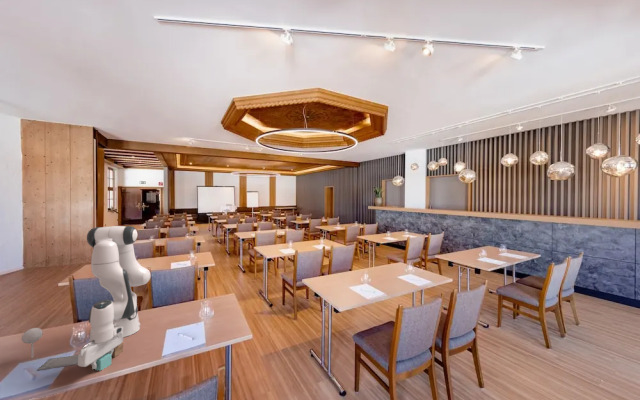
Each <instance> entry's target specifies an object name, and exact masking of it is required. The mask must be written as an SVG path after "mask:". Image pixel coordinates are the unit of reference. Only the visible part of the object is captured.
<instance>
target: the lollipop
mask: <svg viewBox="0 0 640 400" xmlns="http://www.w3.org/2000/svg"><path fill="white" fill-rule="evenodd" d="M43 334H44V333H43V329H41V328H39V327H33V328H29V329H28V330H26V331H25V332H23V334H22V336H21V341H22V343H24V344H27V345H28V344H31V350H30V354H31V356H30V357H31V359H33V358H34V343H36V342H38V341H39V340H40V339H41V338H42V336H43Z"/></svg>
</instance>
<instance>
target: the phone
mask: <svg viewBox="0 0 640 400" xmlns="http://www.w3.org/2000/svg"><path fill="white" fill-rule="evenodd" d="M78 358H79V354H75V355H68V356H62V357H61V356H60V357H53V358H49V359H47V360H46V361H45V362H44V363H42V364H41V365H39V367H37V371H44V370H45V371H46V370H51V369H58V368H64V367H70V366H78Z"/></svg>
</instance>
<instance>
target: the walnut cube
mask: <svg viewBox="0 0 640 400" xmlns="http://www.w3.org/2000/svg"><path fill="white" fill-rule="evenodd" d="M123 352H124V342H122V343H121V344H120V345H118V346H117V347H115V348H114V351H113V353H112V356H111V359H112V358H117V357H118V356H119V355H120V354H122V353H123ZM107 354H108V353H107Z"/></svg>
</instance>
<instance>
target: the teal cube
mask: <svg viewBox="0 0 640 400" xmlns="http://www.w3.org/2000/svg"><path fill="white" fill-rule="evenodd" d="M111 356H112V354H107V353H106V354H104V355H103V356H101V357H100V358H98V359H97V361H96V362H95V363H98V364H99V365H98V367H97V368H96V369H95V371H98V370H99V372H101V370H102V371H104V368H105V369H107V368H108V367H109V366H111V365H112V358H111Z"/></svg>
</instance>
